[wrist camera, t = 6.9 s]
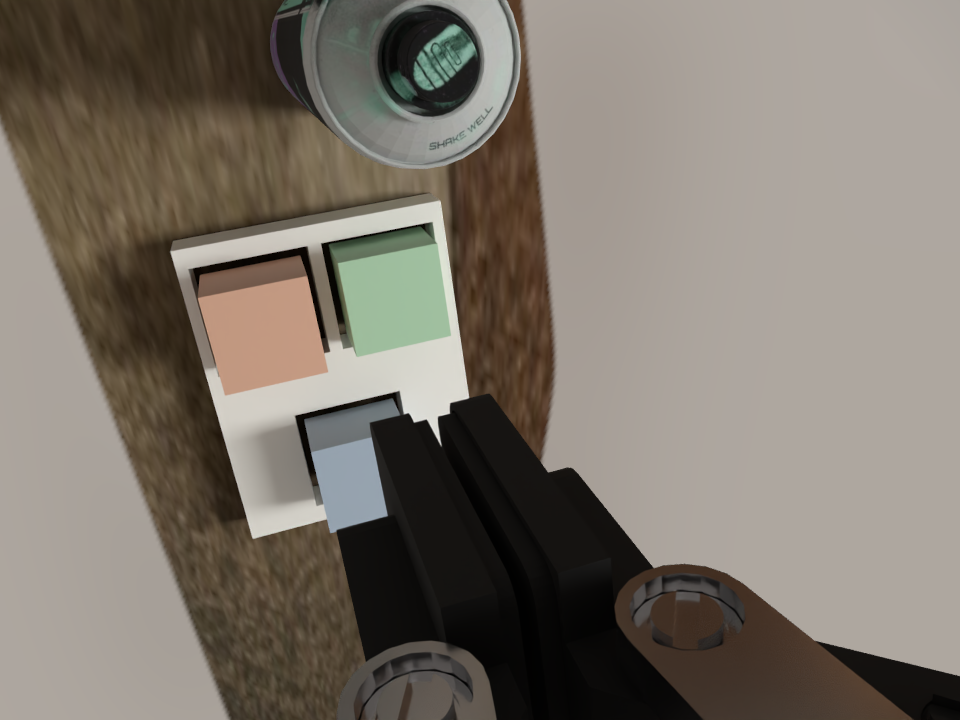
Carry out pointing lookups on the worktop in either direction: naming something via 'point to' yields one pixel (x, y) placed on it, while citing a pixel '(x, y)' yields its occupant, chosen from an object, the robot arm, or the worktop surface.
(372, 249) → the sage key
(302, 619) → the worktop surface
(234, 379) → the terracotta key
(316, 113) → the spray can
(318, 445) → the slate key
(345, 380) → the key console
